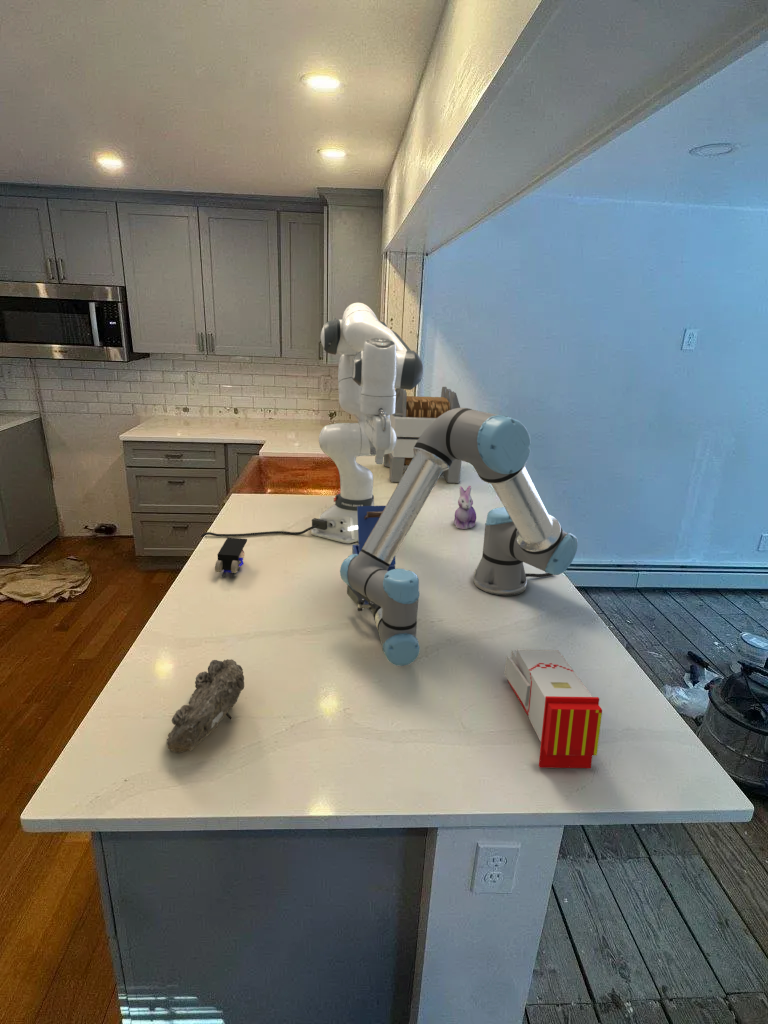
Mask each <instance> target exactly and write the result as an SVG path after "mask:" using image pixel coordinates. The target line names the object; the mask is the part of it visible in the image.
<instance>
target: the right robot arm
mask: <svg viewBox="0 0 768 1024" xmlns="http://www.w3.org/2000/svg"><path fill="white" fill-rule="evenodd" d="M531 443H532V441H531V435H530V433H529V431H528V429H527V427H526V426H525V425H524V424H523V422H521V421H520V420H518V419H515V418H513V417H510V416H508V415H505V414H495V413H491V412H486V411H481V410H476V409H472V408H468V407H460V408H455V409H452V410H449V411H447V412H445V413H443V414H442V415H440V416H439V417H438V418H436V419H435V420H434V421H433V422H432V423H431V424H430V425H429V426H428V427H427V428H426V430H425V431H424V432H423V433H422V435H421V436H420V438H419V439H418V441H417V442H416V444H415V446H414V448H413V452H414V457H413V459H412V460H411V462H410V464H409V466H406V467H407V468H406V469H405V471H404V472H403V475H402V478H401V480H400V482H398V484H397V485H396V487H395V488H394V491H393V492H392V494H391V496H390V498H389V500H388V501H387V503H386V505H385V506H386V507H385V508H384V510H383V512H382V514H381V516H380V517H379V519H378V521H377V523H376V524H375V526H374V528H373V530H372V532H371V533H370V535H369V537H368V539H367V540H366V542H365V544H364V546H363V548H362V550H361V551H360V553H359V554H352V553H351V554H350V555H348V556H347V558H345V559H344V560H343V561H342V563H341V565H340V569H339V575H340V578H341V580H342V581H343V583H345V584H346V594H347V596H348V597H349V598H350V599H351V601H353V603H354V604H355V606H356V608H357V611H358V612H362V611H363V610H364V609H368V610H369V611H371V613H372V617H373V621H374V623H375V627H376V631H377V633H378V636H379V639H380V643H381V646H382V651H383V653H384V655H385V657H386V660H387V661H388V662H389V663H390V664H392V665H394V666H396V667H404V666H409V665H411V664H412V663H414V662H415V661H416V660H417V659H418V657H419V655H420V651H421V648H420V645H419V644H420V642H419V639H418V637H417V626H418V625H417V624H418V621H417V619H418V609H419V598H420V579H419V577H418V574H417V573H415V572H414V571H412V570H411V569H410V570H409V569H407V570H406V569H404V568H395V569H393V570H390V571H387V570H388V568H389V566H390V564H391V562H392V560H393V558H394V557H395V558H396V555H397V553H398V551H399V549H400V548H401V546H402V544H403V543H404V541H405V539H406V537H407V535H408V533H409V532H410V530H411V528H412V526H413V525H414V523H415V521H416V519H417V518H418V516H419V514H420V512H421V510H422V508H423V507H424V505H425V503H426V501H427V499H428V497H429V496H430V494H431V492H432V491H433V489H434V487H435V486H436V484H437V482H438V480H439V478H440V477H441V475H442V474H441V473H442V471H444V470H448V469H449V468H450V466H451V464H452V462H453V461H454V460H456V459H458V460H461V461H462V462H465V463H469V464H470V465H471V466H472V467H473V469H474V470H475V472H476V474H477V475H478V477H479V479H480V480H481V481H483V482H484V483H487V484H490V485H491V486H492V489H493V490H494V491H495V493H496V495H497V497H498V498H499V500H500V502H501V504H502V506H501V507H496V508H493V509H491V510H489V511H488V512H487V516H486V520H485V523H484V524H485V525H484V535H483V536H484V537H483V547H482V556H481V559H480V560H479V562H478V564H477V566H476V568H475V569H474V571H473V579H472V580H473V584H474V586H476V588H478V589H479V590H481V591H483V592H485V593H488V594H490V595H491V594H492V595H496V596H504V597H505V596H507V597H508V596H509V597H510V596H517V595H520V594H522V593H524V592H525V591H526V589H527V583H528V580H527V578H546V577H550V576H560V575H561V574H563V573H564V572H566V571H567V570H568V569H569V567H570V566H571V564H572V562H573V561H574V559H575V556H576V554H577V551H578V546H579V542H578V538H577V537H576V535H575V534H572V533H571V532H567V531H565V530H564V529H563V527H562V526H561V523H560V522H559V520H558V519H557V518H556V517H554V516H553V515H551V514H549V513H548V511H547V509H546V507H545V505H544V502H543V501H542V499H541V497H540V495H539V493H538V490H537V489H536V486H535V484H534V482H533V481H532V478H531V476H530V474H529V472H528V470H527V468H526V464H527V462H528V460H529V457H530V454H531V448H530V445H531ZM524 563H525V564H527V565H529V566H530V567H531V566H532V567H534V568H536V569H538V570H541V571H543V572H544V573H531V572H530V573H529V572H528V573H527V572H526V571H525V565H524ZM365 600H366V601H368V602H369V603H367V602H366V601H365Z"/></svg>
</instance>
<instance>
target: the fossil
mask: <svg viewBox="0 0 768 1024" xmlns="http://www.w3.org/2000/svg"><path fill="white" fill-rule="evenodd" d="M243 670H244V669H243V667H242V665H240V664H237V662H236V661H235V660H234V659H232V658H231V659H227V658H226V659H224V660H223V661H222V660H217V659H212V660H211V661H210V663H209V665H208V666H207V671H201V672H199V673H198V674H197V675H196V676H195V680H194V684H195V685H194V687H195V689H194V690H193V693H192V694H191V697H190V698H189V700H188V704H184V705H182V706H181V707H180V709H177V710H176V711H175V713H174V715H173V716H172V718H171V723H172V724H173V727H172V730H171V731H170V732H168V734H167V738H166V741H167V742H166V745H167V749H168V750H169V751H173V752H174V753H176V754H178V753H182V752H188V751H189V752H192V751H193V750H195V748H196V747H197V746H199V744H200V743H201V742H203V741H204V740H205V739H206V738H207V737H208V736H209V735H210V734H211V733H212V732H214V730H215V729H217V727H218V726H219V724H220V722H221V721H222V720H223V719H224V718H225V716H226V717H227V719H229V720H233V717H232V715H230V714H229V710H230V709H231V708H234V706H235V704H236V703H237V702H238V699H239V697H240V695H241V693H242V691H243V690H245V689H244V688H245V675H244V671H243Z"/></svg>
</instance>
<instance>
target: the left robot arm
mask: <svg viewBox="0 0 768 1024" xmlns="http://www.w3.org/2000/svg"><path fill="white" fill-rule="evenodd" d="M320 344H321V345H322V348H323V350H324V352H325V353H327V354H328V355H329V354H330V355H333V356H334V355H335V356H336V355H340V356H339V361H338V368H337V369H338V371H337V383H338V384H337V387H338V388H337V389H338V403H339V406H340V408H341V409H342V410H343V412H345V413H346V414H348V415H351V416H352V417H353V418H354V419H356V421H357V422H337V423H331V424H327V425H324V426H323V427H322V429H321V430H320V432H319V435H318V445H319V447H320V450H321V451H322V452H323V454H325V455H326V456H327V457H329V458H330V459H331V460H332V462H333V463H334V464H335V466H336V467H337V470H338V474H339V483H340V484H339V485H340V488H339V489H340V490H339V491H338V492H337V494H336V495H335V496H334V497H333V502H334V504H333V505H331V506H329V507H328V508H326V509H325V510H323V512H321V514H320V515H319V517H318V518H316V517H314V518H312V519H311V526H309V527H308V528H305V529H304V530H302V531H286V530H285V531H284V530H273V531H259V532H247V533H216V532H211V531H207V532H204V533H203V534H201V535H200V538H204V537H205V536H214V537H223V538H225V537H226V538H236V537H250V536H251V537H252V536H263V535H277V534H281V535H282V534H284V535H293V536H298V535H304V534H305V533H307V532H309V531H310V533H311V536H315V537H319V538H323V539H326V540H330V541H336V542H339V543H343V544H352V543H357V542H358V518H357V506H375V496H374V474H373V472H372V471H371V469H369V468H368V467H366V466H364V465H362V464H360V463H359V462H357V458H358V457H374V462H375V464H376V465H384V464H383V463H384V455H385V454H389V453H391V452H392V451H393V450H394V448H395V446H396V442H397V437H396V433H395V431H394V429H393V428H392V427H391V422H390V415H392V414H394V413H395V403H396V391H395V390H396V388H400V389H404V390H406V391H407V390H409V391H411V390H412V389H414V388H415V387H417V386H418V385H419V384H420V383H421V382H422V379H423V375H424V366H423V360H422V359H421V358H422V357H420V355H419V354H418V353H417V352H416V351H415V350H412V349H411V347H409V346H408V345H407V343H406V342H405V341H404V340H403V339H402V338H401V336H400V335H399V334H398V333H397V332H396V331H394V330H393V329H391V328H389V327H388V325H387V324H386V323H385V322H384V321H382V320H379V319H378V317H377V315H376V314H375V312H374V310H372V309H371V307H370V306H368V305H367V304H365V303H363V302H353V303H351V304H349V305H348V306H347V307H346V308H345V309H344V311H343V314H342V319H339V318H336V317H335V318H333V319H331V320H329V321H326V322H325V323H324V324H323V326H322V328H321V331H320Z"/></svg>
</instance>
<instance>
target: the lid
mask: <svg viewBox="0 0 768 1024" xmlns="http://www.w3.org/2000/svg"><path fill="white" fill-rule="evenodd" d="M385 507H386V505H374V506H357V518H358V541H357V542H358V545H359V553H360V551H361V550H362V548H363V546H364V544H365V542H366V540H367V539H368V537H369V535H370V533H371V532H372V530H373V528H374V526H375V524H376V523H377V521H378V519H379V517H380V516H381V514H382V512H383V510H384V508H385ZM396 561H397V560H396V556H395V557H394V558H393V560H392V562H391V564H390V565H395V566H396V564H397V563H396Z"/></svg>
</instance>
